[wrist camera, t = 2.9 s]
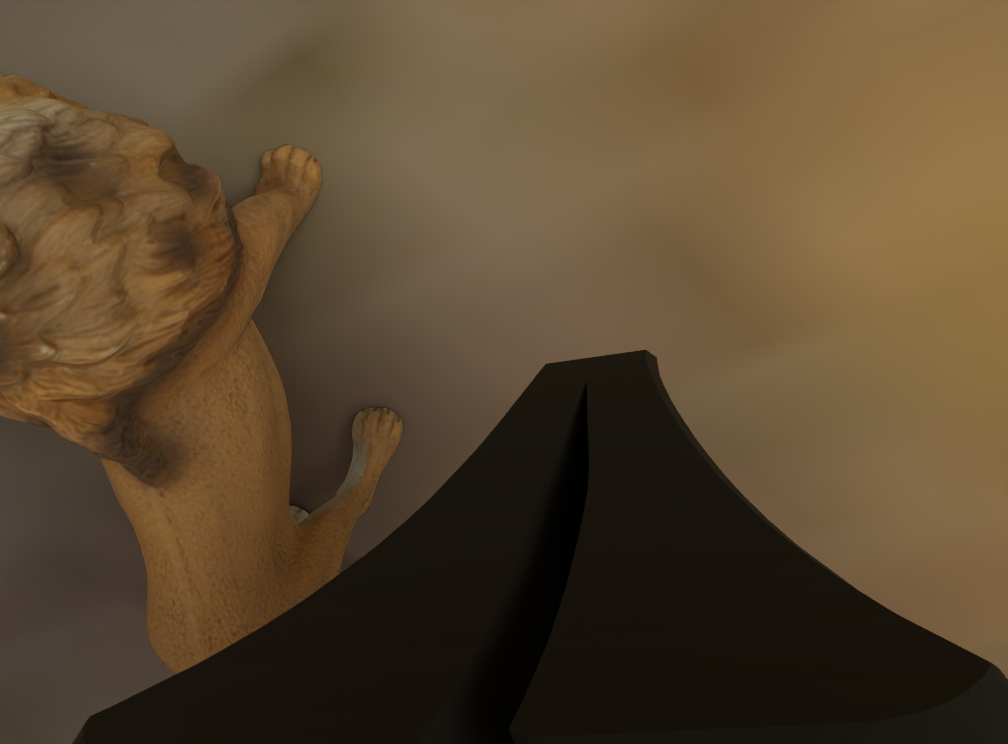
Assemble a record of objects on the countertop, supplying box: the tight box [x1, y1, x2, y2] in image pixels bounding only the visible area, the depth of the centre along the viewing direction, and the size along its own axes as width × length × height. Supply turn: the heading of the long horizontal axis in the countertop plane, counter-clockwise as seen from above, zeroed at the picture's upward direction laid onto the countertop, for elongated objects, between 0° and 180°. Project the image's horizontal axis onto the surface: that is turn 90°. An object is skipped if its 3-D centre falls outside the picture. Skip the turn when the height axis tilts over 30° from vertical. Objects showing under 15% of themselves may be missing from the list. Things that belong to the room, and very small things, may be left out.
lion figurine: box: [0, 72, 403, 674], centre depth 16 cm, size 15×5×9 cm, turn 19°
